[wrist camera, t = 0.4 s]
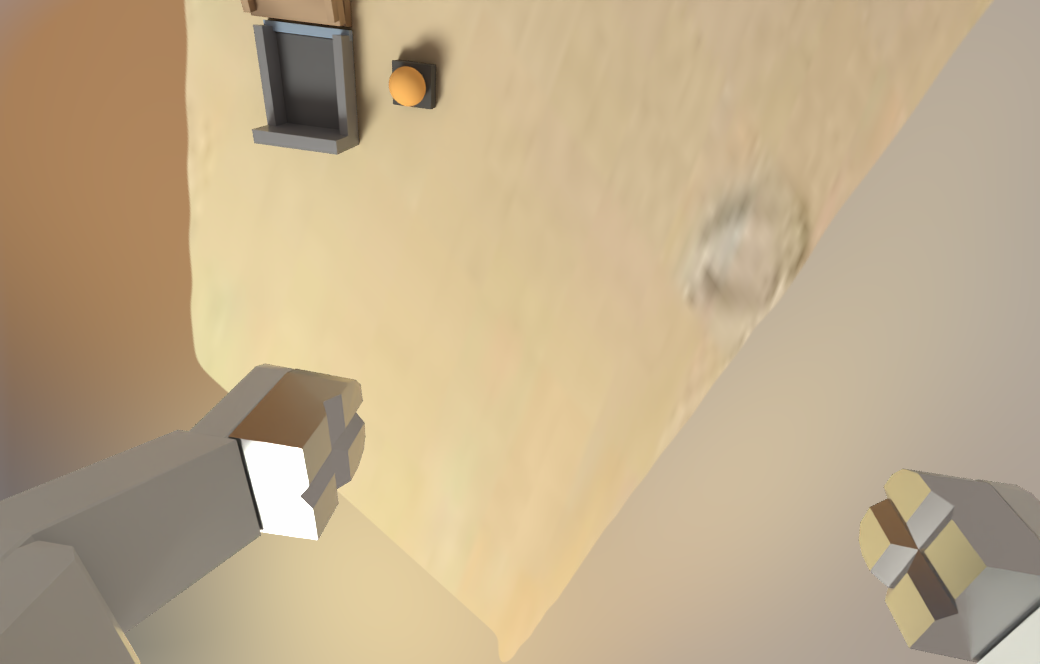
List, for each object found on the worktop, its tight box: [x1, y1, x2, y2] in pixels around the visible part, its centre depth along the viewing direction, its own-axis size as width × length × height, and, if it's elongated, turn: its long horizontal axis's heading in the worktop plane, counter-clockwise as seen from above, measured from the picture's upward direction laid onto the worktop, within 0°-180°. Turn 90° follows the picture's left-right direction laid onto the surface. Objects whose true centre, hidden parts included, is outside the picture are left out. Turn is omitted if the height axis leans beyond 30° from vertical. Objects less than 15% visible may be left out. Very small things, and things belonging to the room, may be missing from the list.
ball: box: [389, 66, 426, 106], centre depth 45 cm, size 3×3×3 cm
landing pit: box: [252, 20, 359, 154], centre depth 46 cm, size 10×8×5 cm
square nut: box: [392, 60, 436, 109], centre depth 47 cm, size 4×4×2 cm
